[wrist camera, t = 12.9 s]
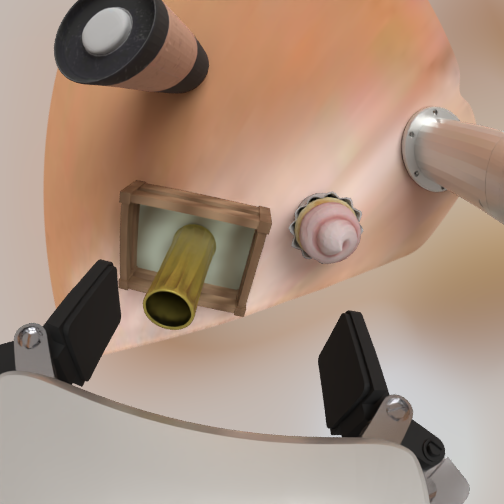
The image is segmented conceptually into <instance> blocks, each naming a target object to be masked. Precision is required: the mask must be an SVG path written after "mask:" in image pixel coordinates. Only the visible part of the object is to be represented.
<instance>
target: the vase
mask: <svg viewBox="0 0 504 504" xmlns="http://www.w3.org/2000/svg"><path fill="white" fill-rule="evenodd" d="M215 251H216V241H215V238H214V236H213V235H212V233H211V232H210V231H209V230H208V229H206V228H205V227H203V226H200V225H196V224H189V225H185V226H183V227H181V228H180V229H179V230H177V232H176V233H175V235H174V237H173V241H172V244H171V246H170V248H169V250H168V252H167V254H166V256H165V258H164V260H163V262H162V264H161V266H160V269H159V271H158V272H157V274H156V276H155V278H154V280H153V282H152V284H151V286H150V288H149V289H148V291H147V293H146V295H145V297H144V300H143V308H144V312H145V314H146V316H147V317H148V318H149V319H150V320H151V321H152V322H153V323H154V324H156V325H158V326H160V327H162V328H165V329H170V330H179V329H183V328H185V327H187V326H189V325H190V324H191V322H192V321H193V319H194V316H195V312H196V308H197V305H198V301H199V298H200V294H201V291H202V287H203V284H204V281H205V278H206V275H207V272H208V269H209V266H210V263H211V260H212V257H213V255H214V254H215Z"/></svg>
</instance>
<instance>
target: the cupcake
mask: <svg viewBox="0 0 504 504" xmlns="http://www.w3.org/2000/svg"><path fill="white" fill-rule="evenodd" d="M361 216H362V212H361V211H359V210H357V209H355V208H353V203H352V200H351V198H347V197H346V198H339V197H338V196H337V195H336V193H334V192H329V193H327V194H324V193H316V194H313V195H311V196H309V197H307V198H306V199H304V200H303V201H302V203H301V204H300V205H299V207H298V209H297V210H296V212H295V219H294V221H293V222H292V223H291V225H290V226H289V230H290V232H291V233H292V235H293V236H294V238H293V241H292V247H294V248H296V249H299V250H301V251H302V255H303V257H304V258H306V259H312V258H313V259H315V260H317V261H318V262H320V263H322V264H323V263H325V264H330V263H335V262H339V261H342V260H344V259H346V258H347V257H349V256H350V255H351V254H352V253H353V252H354V251H355V250H356V248H357V246H358V244H359V242H360V237H361V234H362V232H363V228H362V226H361V225H360V223H359V221H360V219H361Z"/></svg>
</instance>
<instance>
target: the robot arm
mask: <svg viewBox="0 0 504 504" xmlns="http://www.w3.org/2000/svg"><path fill="white" fill-rule="evenodd" d="M409 133H410V135H409ZM402 154H403V160H404V164H405V167H406V169H407V171H408V173H409V175H410V176H411V178H412V179H413V180H414V181H415V182H416V183H417V184H418V185H419V186H421V187H422V188H424V189H426V190H428V191H432V192H442V191H446V190H449V191H451V192H453V193H455V194H456V195H458V196H460V197H461V198H463V199H465V200H466V201H468V202H470V203H471V204H473V205H475V206H477V207H478V208H480V209H481V210H482V211H484V212H486V213H487V214H489V215H490V216H492V217H493V218H495V219H496V220H498V221H499V222H501V223H502V224H504V131H501V130H497V129H493V128H489V127H485V126H480V125H476V124H471V123H466V122H461V121H460V120H459V119H458V118H457V117H456V116H455V115H454V114H453V113H452V112H451V111H449V110H447V109H445V108H441V107H433V106H432V107H426V108H423V109H421V110H419V111H418V112H417V113H415V114H414V115H413V116H412V118H411V119H410V120H409V122H408V124H407V126H406V128H405V131H404V134H403V140H402ZM414 172H415V173H414ZM120 320H121V310H120V302H119V292H118V281H117V269H116V267H114V266H113V263H112V262H109V261H105V260H101V259H100V260H98V261H97V262H96V263H95V264H94V265H93V267H92V268H91V269H90V270H89V271H88V272H87V273H86V275H85V276H84V277H83V278H82V279H81V280H80V282H79V283H78V284H77V285H76V286H75V287H74V288H73V289H72V290H71V291H70V293H69V294H68V295H67V296H66V298H65V299H64V300H63V301H62V302H61V304H60V305H59V306H58V307H57V309H56V310H55V311H54V313H53V314H52V315H51V316H50V318H49V319H48V320H47V322H46V323H45V324H44V326H41V325H39V324H36V323H29V324H26V325H23V326H22V327H20V328H19V329H18V330H17V332H16V334H15V336H14V341H12V342H8V343H5V344H1V345H0V504H463V503H464V501H465V500H466V499H467V497H468V495H469V491H470V487H469V484H468V482H467V480H466V479H465V478H464V476H463V475H462V474H461V473H460V471H459V470H458V469H457V468H456V466H455V465H454V464H453V463H452V461H451V460H450V459H449V458H446V459H445V458H444V455H445V448H444V445H443V443H442V442H441V440H440V439H439V438H437V437H436V436H435V435H433V434H432V433H430V432H429V431H427V430H426V429H425V428H423V427H422V426H421V425H419V424H418V423H416V422H415V421H414V420H412V417H413V409H412V407H411V405H410V403H409V402H408V401H407V400H406V399H405V398H404V397H402V396H400V395H389V392H388V389H387V385H386V382H385V379H384V376H383V373H382V370H381V367H380V364H379V361H378V358H377V355H376V352H375V349H374V346H373V344H372V341H371V338H370V335H369V332H368V330H367V327H366V324H365V322H364V319H363V316H362V314H361V313H360V312H355V311H347V312H346V313H343V314H341V316H340V318H339V320H338V322H337V324H336V326H335V328H334V329H333V331H332V333H331V335H330V337H329V339H328V341H327V342H326V344H325V346H324V348H323V350H322V351H321V353H320V355H319V358H318V365H319V372H320V379H321V385H322V393H323V400H324V408H325V416H326V424H327V427H328V428H330V431H331V435H342V437H301V436H282V435H270V434H260V433H251V432H243V431H236V430H229V429H223V428H217V427H211V426H205V425H201V424H195V423H191V422H186V421H182V420H178V419H173V418H169V417H165V416H161V415H158V414H154V413H151V412H147V411H143V410H140V409H137V408H134V407H130V406H127V405H124V404H121V403H118V402H115V401H112V400H110V399H107V398H104V397H101V396H99V395H96V394H93V393H91V392H88V391H85V390H83V389H80V388H78V387H75V386H73V385H72V383H75V384H77V385H79V386H83V384H84V382H85V381H89V379H90V378H91V376H92V374H93V372H94V369H95V368H96V366H97V364H98V362H99V360H100V358H101V356H102V354H103V352H104V350H105V348H106V347H107V345H108V343H109V341H110V339H111V337H112V336H113V334H114V332H115V330H116V328H117V327H118V325H119V323H120Z"/></svg>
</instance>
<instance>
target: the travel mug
mask: <svg viewBox="0 0 504 504" xmlns="http://www.w3.org/2000/svg"><path fill="white" fill-rule="evenodd" d="M54 56H55V60H56V64H57V66H58V68H59V70H60V71H61V73H62V74H63V75H64V76H65V77H66V78H68V79H69V80H71V81H74V82H76V83H81V84H89V85H101V86H111V87H120V88H128V89H135V90H142V91H148V92H162V93H184V92H188V91H190V90H192V89H194V88H196V87H197V86H198V85H199V84H200V83H201V82H202V81H203V80H204V78H205V77H206V75H207V72H208V68H209V61H208V57H207V54H206V52H205V51H204V49H203V48H202V46H201V45H200V43H199V42H198V40H197V39H196V37H195V36H194V35H193V33H192V32H191V31H190V30H189V29H188V27H187V26H186V25H185V24H184V23H183V22H182V21H181V20H180V19H179V18H178V17H177V16H176V15H175V14H174V13H173V11H172V10H171V9H170V8H169V7H168V6H167V5H166V4H165V3H164V2H163V1H162V0H78V1H77V2H76V3H75V4H74V5H73V6H72V7H71V9H70V10H69V11H68V13H67V14H66V15H65V17H64V19H63V20H62V22H61V25H60V26H59V29H58V31H57V34H56V39H55V44H54Z"/></svg>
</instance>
